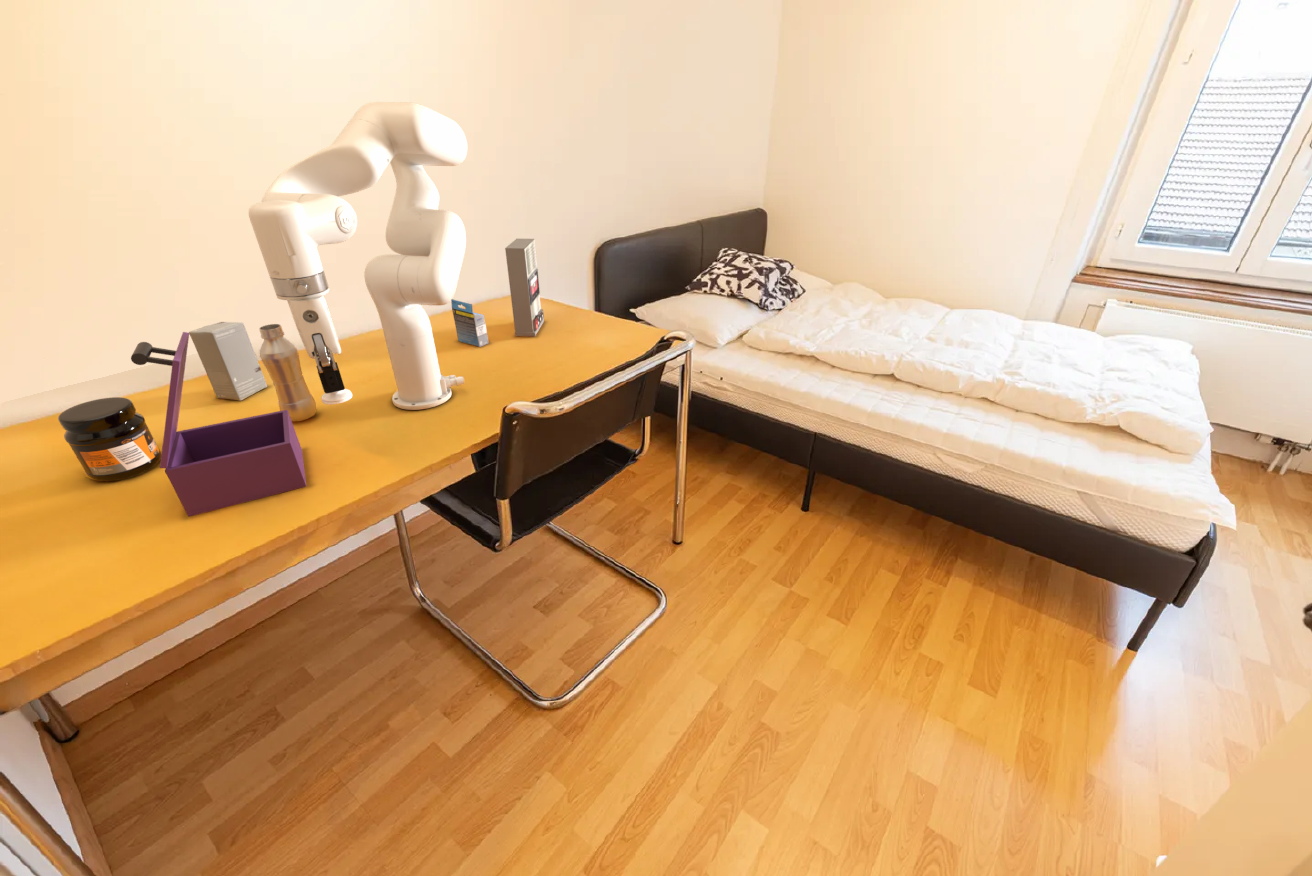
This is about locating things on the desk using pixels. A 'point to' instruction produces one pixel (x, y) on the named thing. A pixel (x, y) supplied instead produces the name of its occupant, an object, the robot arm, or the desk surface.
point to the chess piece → (336, 396)
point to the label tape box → (469, 324)
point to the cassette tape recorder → (524, 287)
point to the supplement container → (110, 439)
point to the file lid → (175, 390)
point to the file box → (235, 462)
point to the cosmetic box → (229, 360)
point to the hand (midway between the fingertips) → (333, 387)
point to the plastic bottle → (286, 373)
